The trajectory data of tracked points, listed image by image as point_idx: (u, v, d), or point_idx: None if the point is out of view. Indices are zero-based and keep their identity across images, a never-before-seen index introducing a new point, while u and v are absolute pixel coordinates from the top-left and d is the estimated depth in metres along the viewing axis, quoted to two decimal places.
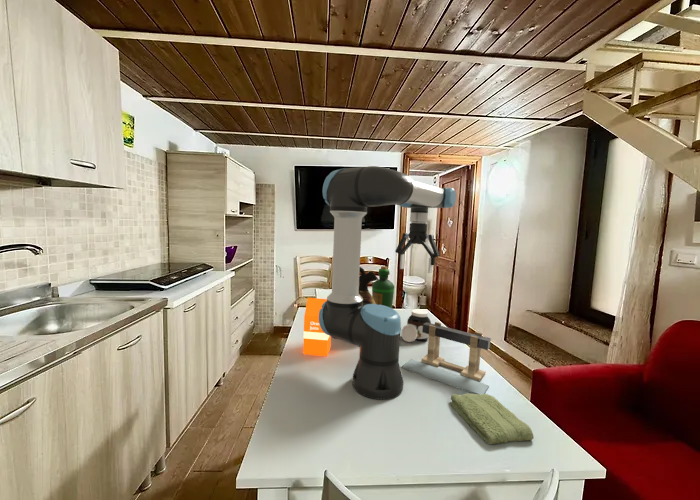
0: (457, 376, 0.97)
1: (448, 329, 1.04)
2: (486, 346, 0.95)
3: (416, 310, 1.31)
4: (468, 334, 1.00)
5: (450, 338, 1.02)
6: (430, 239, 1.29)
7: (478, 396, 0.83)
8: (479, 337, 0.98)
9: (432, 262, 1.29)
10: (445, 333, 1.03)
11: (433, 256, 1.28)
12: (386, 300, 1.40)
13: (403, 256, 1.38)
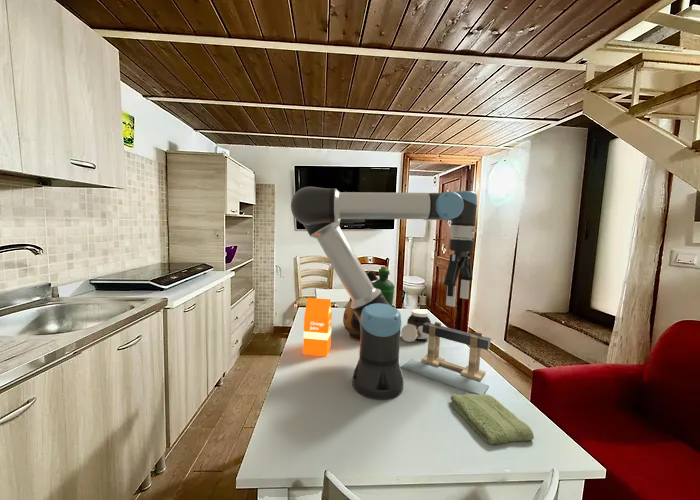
0: (457, 376, 0.97)
1: (448, 329, 1.04)
2: (486, 346, 0.95)
3: (416, 310, 1.31)
4: (468, 334, 1.00)
5: (450, 338, 1.02)
6: None
7: (478, 396, 0.83)
8: (479, 337, 0.98)
9: None
10: (445, 333, 1.03)
11: (446, 283, 0.95)
12: (386, 300, 1.40)
13: (464, 282, 1.06)
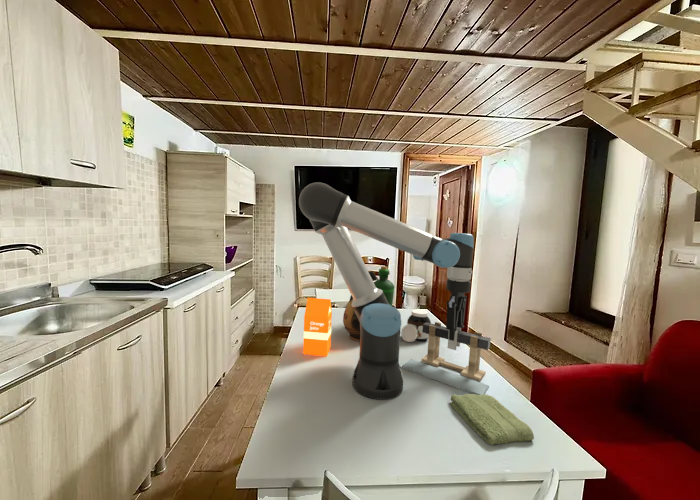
0: (457, 376, 0.97)
1: None
2: (486, 346, 0.95)
3: (416, 310, 1.31)
4: (468, 334, 1.00)
5: None
6: None
7: (478, 396, 0.83)
8: (479, 337, 0.98)
9: None
10: (445, 333, 1.03)
11: (448, 329, 1.01)
12: None
13: None
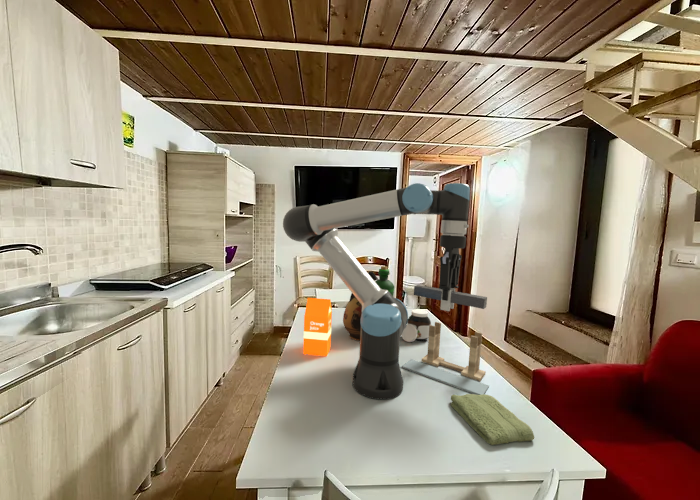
0: (457, 376, 0.97)
1: (441, 290, 0.96)
2: (482, 305, 0.88)
3: (416, 310, 1.31)
4: (463, 294, 0.92)
5: None
6: None
7: (478, 396, 0.83)
8: (475, 296, 0.90)
9: None
10: (438, 294, 0.96)
11: (441, 288, 0.93)
12: None
13: None
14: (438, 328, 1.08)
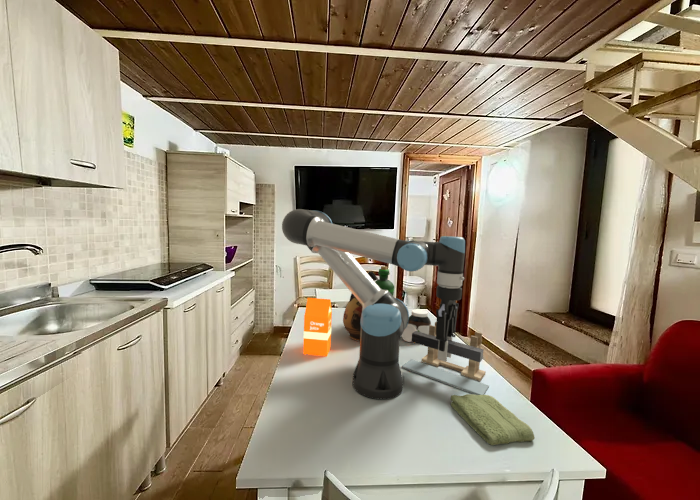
0: (457, 376, 0.97)
1: None
2: (478, 358, 0.89)
3: (416, 310, 1.31)
4: (459, 344, 0.93)
5: None
6: None
7: (478, 397, 0.83)
8: (471, 348, 0.91)
9: None
10: (435, 343, 0.97)
11: None
12: None
13: (447, 339, 0.97)
14: None
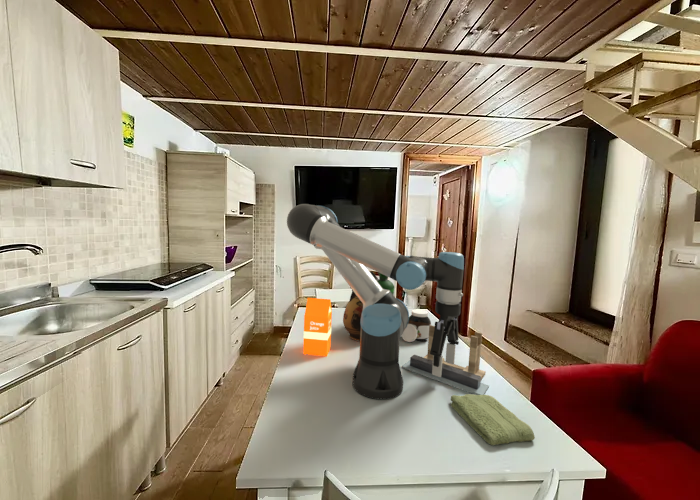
0: None
1: None
2: (476, 385, 0.89)
3: (416, 310, 1.31)
4: (457, 371, 0.94)
5: None
6: None
7: (478, 397, 0.83)
8: (469, 375, 0.92)
9: None
10: None
11: None
12: None
13: (450, 346, 1.01)
14: None
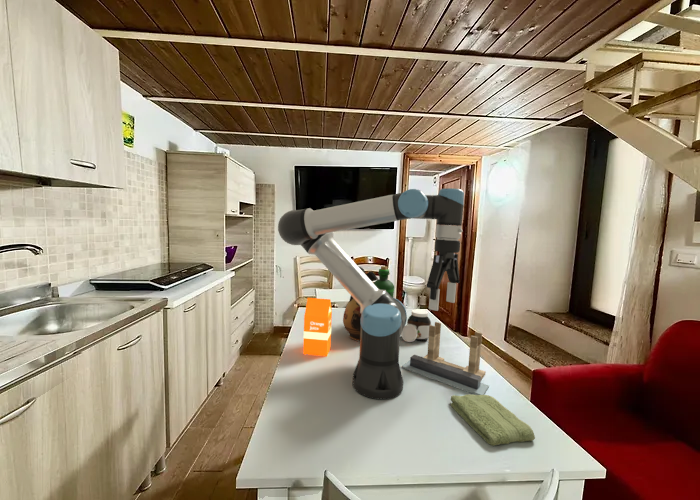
0: None
1: (436, 364, 0.98)
2: (476, 385, 0.89)
3: (416, 310, 1.31)
4: (457, 371, 0.94)
5: (438, 374, 0.96)
6: None
7: (478, 397, 0.83)
8: (469, 375, 0.92)
9: None
10: (433, 368, 0.97)
11: None
12: None
13: (451, 285, 1.01)
14: (438, 328, 1.08)
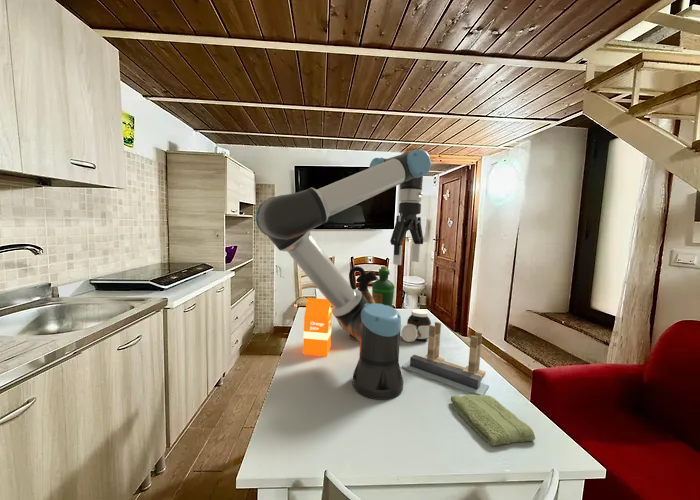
0: None
1: (436, 364, 0.98)
2: (476, 385, 0.89)
3: (416, 310, 1.31)
4: (457, 371, 0.94)
5: (438, 374, 0.96)
6: None
7: (478, 397, 0.82)
8: (469, 375, 0.92)
9: None
10: (433, 368, 0.97)
11: (392, 243, 1.01)
12: (386, 300, 1.40)
13: (415, 246, 1.12)
14: (438, 328, 1.08)
